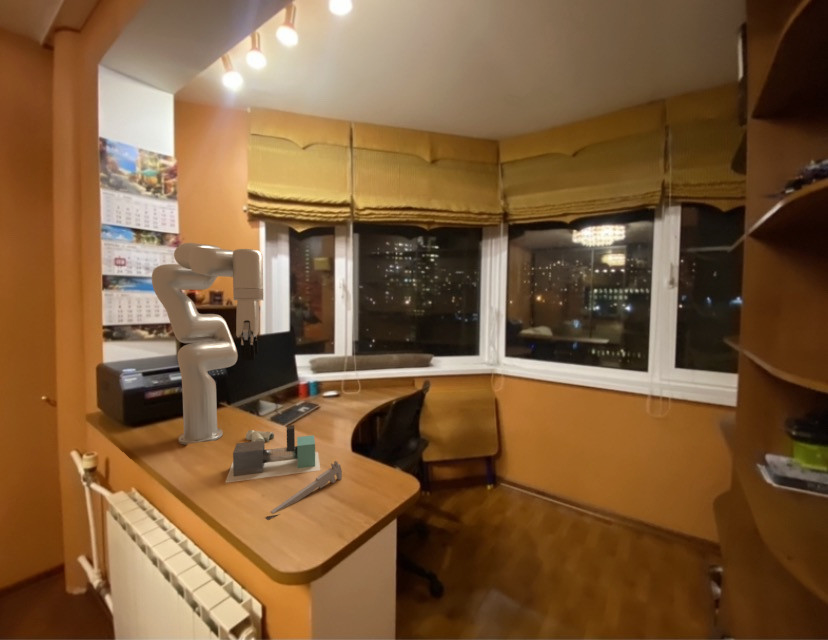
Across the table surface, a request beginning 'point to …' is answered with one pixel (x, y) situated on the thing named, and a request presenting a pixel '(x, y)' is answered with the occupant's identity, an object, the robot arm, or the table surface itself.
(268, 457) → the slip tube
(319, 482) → the caliper
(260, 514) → the table surface
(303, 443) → the socket block
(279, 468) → the base board
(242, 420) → the table surface
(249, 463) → the dark grey block
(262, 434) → the pipe fitting
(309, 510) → the table surface
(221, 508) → the table surface
